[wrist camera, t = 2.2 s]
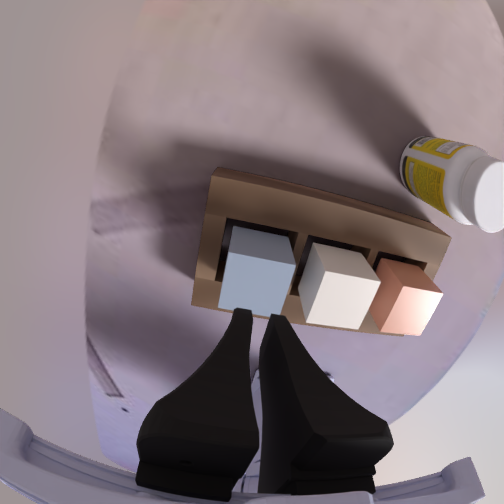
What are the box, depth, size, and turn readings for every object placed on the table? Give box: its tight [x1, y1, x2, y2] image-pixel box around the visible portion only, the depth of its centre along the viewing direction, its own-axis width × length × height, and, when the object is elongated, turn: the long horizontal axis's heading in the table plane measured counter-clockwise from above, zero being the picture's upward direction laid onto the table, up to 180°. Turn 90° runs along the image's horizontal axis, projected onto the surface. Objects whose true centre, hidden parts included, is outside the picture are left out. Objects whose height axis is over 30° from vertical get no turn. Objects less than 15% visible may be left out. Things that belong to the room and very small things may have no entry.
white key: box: [298, 242, 381, 329], centre depth 18 cm, size 3×3×4 cm
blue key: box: [218, 226, 296, 317], centre depth 17 cm, size 3×3×4 cm
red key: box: [369, 258, 443, 336], centre depth 18 cm, size 3×3×4 cm
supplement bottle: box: [400, 136, 504, 233], centre depth 15 cm, size 5×5×8 cm
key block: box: [191, 167, 452, 336], centre depth 20 cm, size 9×17×3 cm, turn 78°
